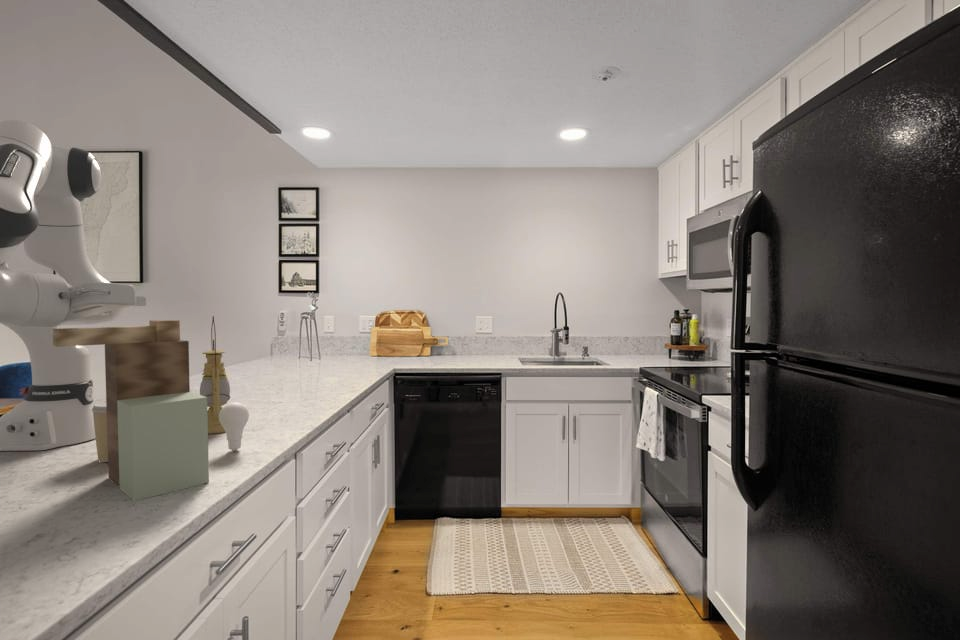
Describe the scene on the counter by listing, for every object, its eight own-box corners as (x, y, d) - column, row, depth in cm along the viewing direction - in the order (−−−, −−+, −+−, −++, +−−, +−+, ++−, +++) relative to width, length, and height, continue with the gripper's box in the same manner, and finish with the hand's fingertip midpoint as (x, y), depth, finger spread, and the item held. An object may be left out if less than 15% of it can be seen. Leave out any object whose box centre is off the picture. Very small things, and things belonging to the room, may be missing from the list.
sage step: (133, 500, 88) (131, 407, 88) (119, 488, 94) (117, 400, 94) (208, 482, 97) (207, 397, 96) (191, 472, 103) (189, 391, 103)
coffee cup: (140, 449, 119) (139, 397, 119) (150, 457, 113) (149, 402, 112) (89, 457, 113) (88, 402, 112) (97, 467, 106) (95, 408, 106)
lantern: (192, 427, 140) (189, 315, 139) (232, 423, 145) (230, 315, 144) (194, 437, 129) (191, 316, 128) (237, 432, 134) (235, 316, 133)
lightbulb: (237, 455, 114) (236, 405, 114) (213, 454, 115) (212, 404, 115) (255, 447, 120) (254, 400, 120) (231, 446, 121) (230, 399, 121)
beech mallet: (57, 347, 89) (56, 323, 89) (52, 345, 92) (51, 323, 92) (180, 340, 103) (179, 320, 103) (172, 339, 106) (171, 320, 106)
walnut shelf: (119, 488, 94) (115, 344, 93) (108, 478, 100) (104, 342, 99) (191, 471, 103) (188, 340, 102) (177, 463, 109) (174, 339, 108)
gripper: (82, 269, 82) (163, 279, 95) (4, 291, 90) (90, 298, 102) (84, 308, 82) (166, 313, 95) (6, 327, 89) (91, 330, 102)
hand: (126, 305), depth 99 cm, fingers open, 8 cm apart
